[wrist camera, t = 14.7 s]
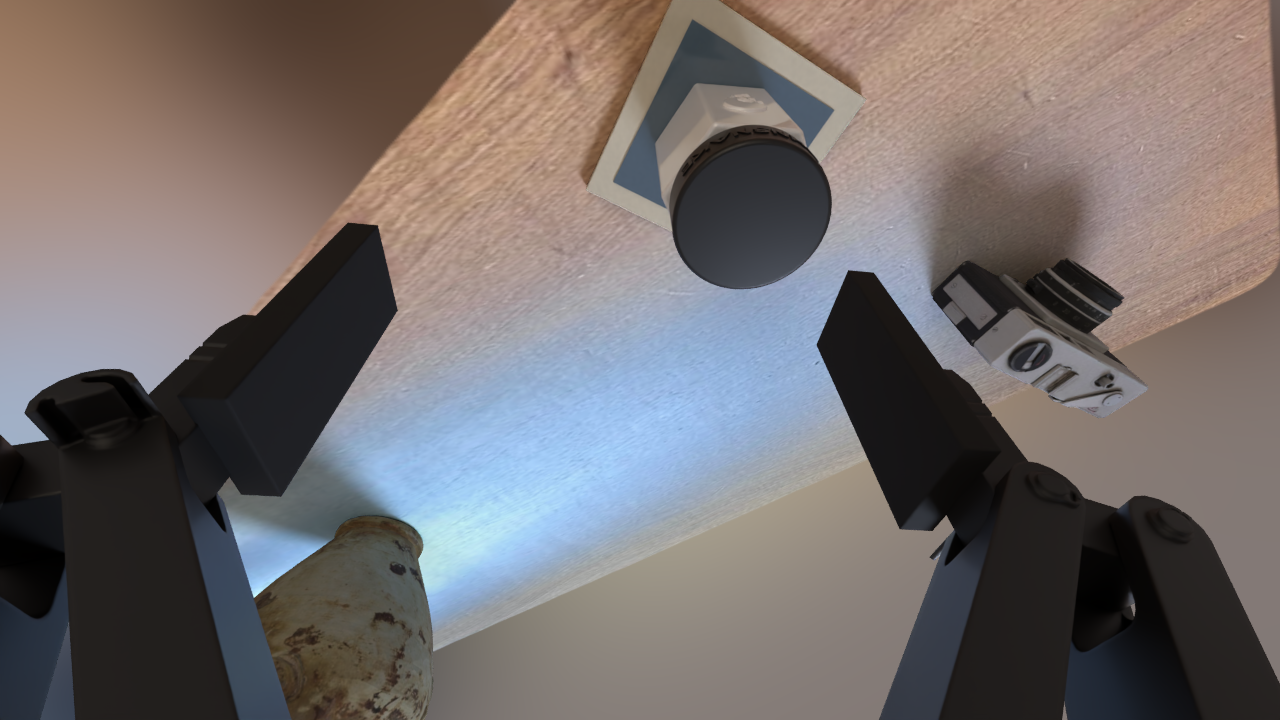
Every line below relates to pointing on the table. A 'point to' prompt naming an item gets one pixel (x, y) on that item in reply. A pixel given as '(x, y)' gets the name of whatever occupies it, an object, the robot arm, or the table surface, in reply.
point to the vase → (353, 626)
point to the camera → (1043, 332)
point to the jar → (741, 187)
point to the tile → (721, 55)
